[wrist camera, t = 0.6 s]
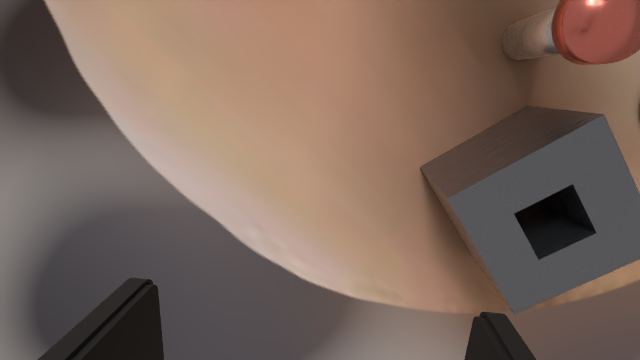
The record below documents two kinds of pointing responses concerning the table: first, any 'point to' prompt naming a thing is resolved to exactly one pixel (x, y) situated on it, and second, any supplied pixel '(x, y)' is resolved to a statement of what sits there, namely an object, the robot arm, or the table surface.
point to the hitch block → (541, 202)
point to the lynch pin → (578, 32)
